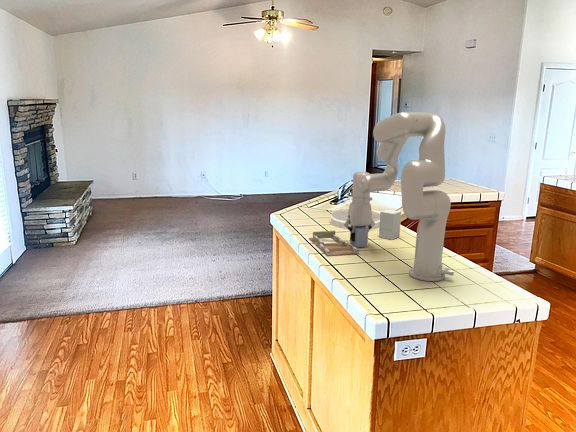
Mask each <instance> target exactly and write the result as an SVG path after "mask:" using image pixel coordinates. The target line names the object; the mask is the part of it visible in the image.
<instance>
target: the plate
mask: <svg viewBox="0 0 576 432" xmlns="http://www.w3.org/2000/svg"><path fill="white" fill-rule="evenodd" d="M348 210H349V208H342V209H341V208H339V209H336V210H334V211H332V213H331V215H330V219H329V220H330V224H331V225H332V226H334V227H337V228H340V229H345V230H348V229H347V228H346V227H345V226H344V223H345V222H346V221H347V217H348ZM372 220H373V221H374V222H375V225H374V226H373V227H372V228H371V229H370V230H369V231H371V230H376V229H377V230H378V229H379V227H380V212H376V211H375V210H372ZM348 226H349V227H351V225H350V224H348Z"/></svg>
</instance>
